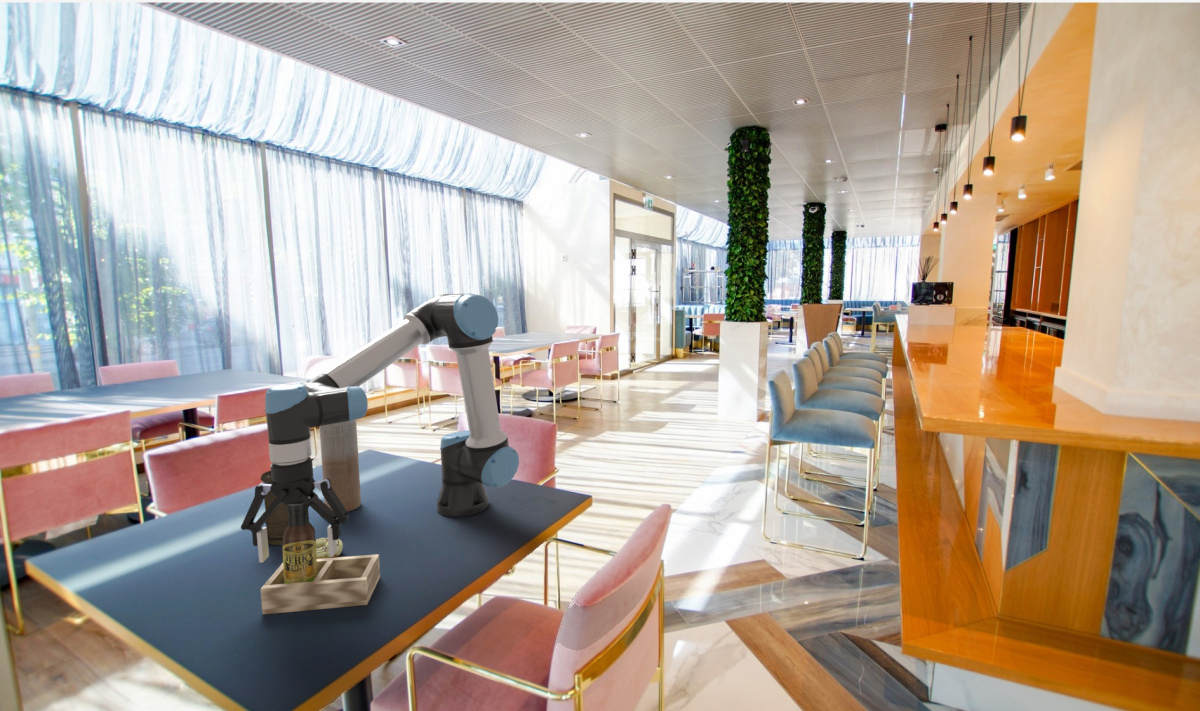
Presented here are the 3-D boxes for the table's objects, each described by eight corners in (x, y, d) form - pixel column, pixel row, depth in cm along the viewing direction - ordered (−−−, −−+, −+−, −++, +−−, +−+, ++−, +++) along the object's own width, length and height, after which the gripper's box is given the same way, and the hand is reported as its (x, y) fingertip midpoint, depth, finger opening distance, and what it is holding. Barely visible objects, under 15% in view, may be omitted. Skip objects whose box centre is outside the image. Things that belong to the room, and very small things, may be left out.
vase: (364, 508, 159) (358, 418, 156) (327, 516, 154) (321, 423, 151) (357, 498, 168) (352, 412, 164) (322, 505, 162) (316, 416, 159)
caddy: (380, 577, 121) (378, 554, 120) (367, 604, 110) (365, 579, 109) (285, 585, 118) (283, 561, 117) (262, 614, 107) (260, 588, 106)
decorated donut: (350, 557, 130) (349, 543, 130) (302, 574, 123) (301, 559, 122) (334, 544, 137) (333, 530, 137) (288, 559, 130) (287, 544, 129)
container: (286, 547, 135) (280, 479, 133) (256, 544, 137) (250, 477, 135) (311, 531, 144) (307, 468, 142) (283, 529, 146) (278, 465, 144)
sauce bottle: (282, 602, 109) (275, 509, 107) (286, 587, 115) (280, 498, 112) (318, 595, 112) (311, 504, 109) (320, 580, 117) (314, 494, 115)
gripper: (360, 451, 115) (366, 543, 118) (234, 457, 111) (243, 552, 114) (349, 461, 108) (356, 560, 110) (215, 469, 104) (225, 570, 107)
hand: (299, 556), depth 112 cm, fingers open, 13 cm apart
